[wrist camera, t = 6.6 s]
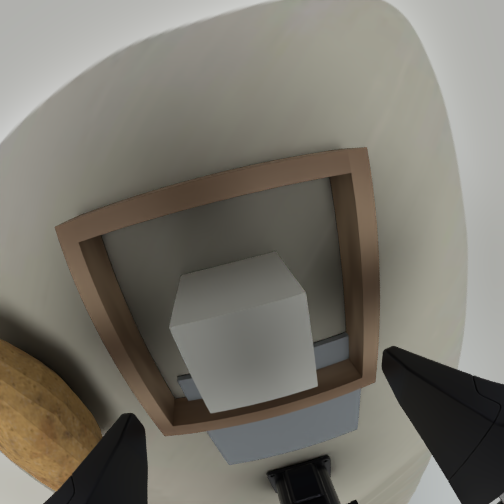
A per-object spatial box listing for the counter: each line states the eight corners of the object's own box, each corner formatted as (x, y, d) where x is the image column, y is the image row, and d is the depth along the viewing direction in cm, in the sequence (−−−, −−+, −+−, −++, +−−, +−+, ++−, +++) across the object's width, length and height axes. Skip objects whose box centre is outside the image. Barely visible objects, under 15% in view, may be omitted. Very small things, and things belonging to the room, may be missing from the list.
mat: (355, 426, 21) (357, 428, 20) (228, 461, 20) (229, 465, 19) (359, 327, 17) (362, 330, 16) (177, 376, 16) (177, 380, 16)
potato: (14, 275, 12) (-64, 340, 5) (147, 422, 17) (136, 511, 10) (-30, 329, 13) (-78, 382, 5) (77, 441, 17) (59, 506, 10)
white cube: (290, 328, 16) (318, 386, 11) (208, 350, 16) (210, 413, 11) (275, 250, 14) (306, 292, 10) (181, 274, 14) (168, 327, 9)
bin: (359, 360, 18) (375, 382, 15) (167, 409, 17) (164, 436, 14) (342, 148, 13) (367, 147, 11) (77, 216, 12) (54, 226, 10)
